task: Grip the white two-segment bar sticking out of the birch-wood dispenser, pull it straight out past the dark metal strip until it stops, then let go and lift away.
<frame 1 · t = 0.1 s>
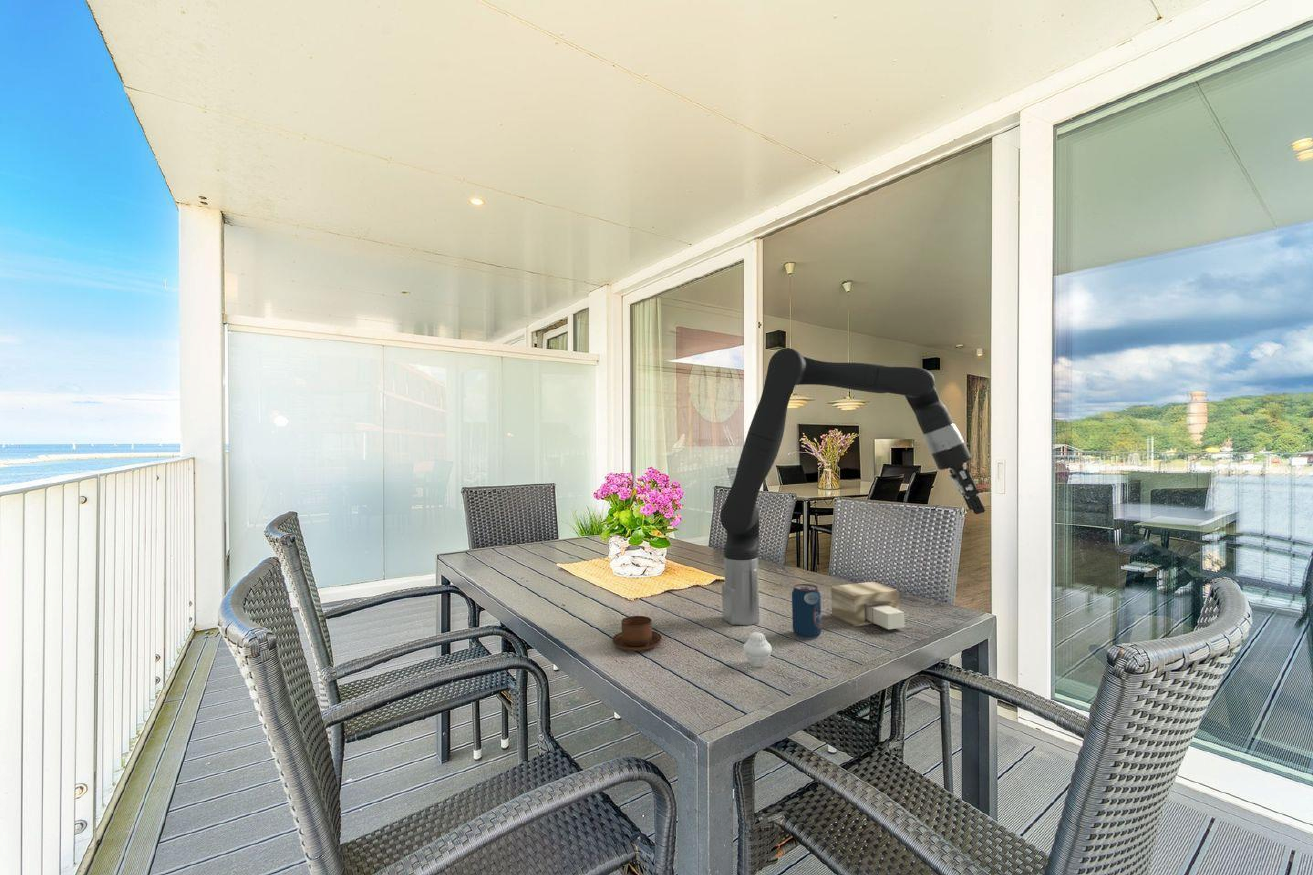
hand: (977, 510, 124), 31 cm above the table, fingers open, 8 cm apart
dispenser: (865, 617, 145), on the table
cup and saucer: (637, 646, 128), on the table
soda can: (807, 635, 133), on the table
white rounded piece: (757, 665, 116), on the table
white two-segment bar: (876, 612, 140), point 3 cm above the table, slide at 0.0 cm
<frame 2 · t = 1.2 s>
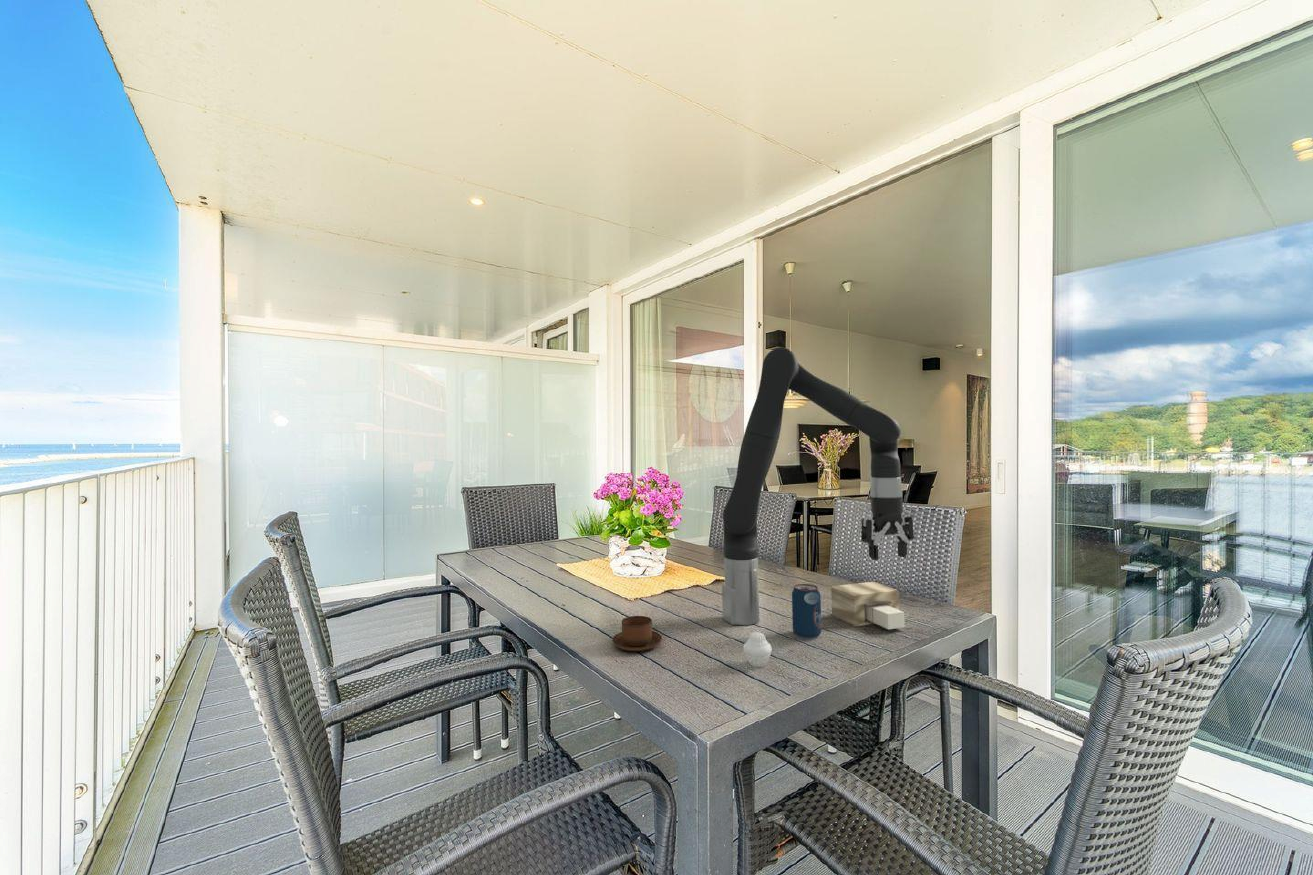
hand: (888, 558, 136), 18 cm above the table, fingers open, 8 cm apart
nothing on the table moved.
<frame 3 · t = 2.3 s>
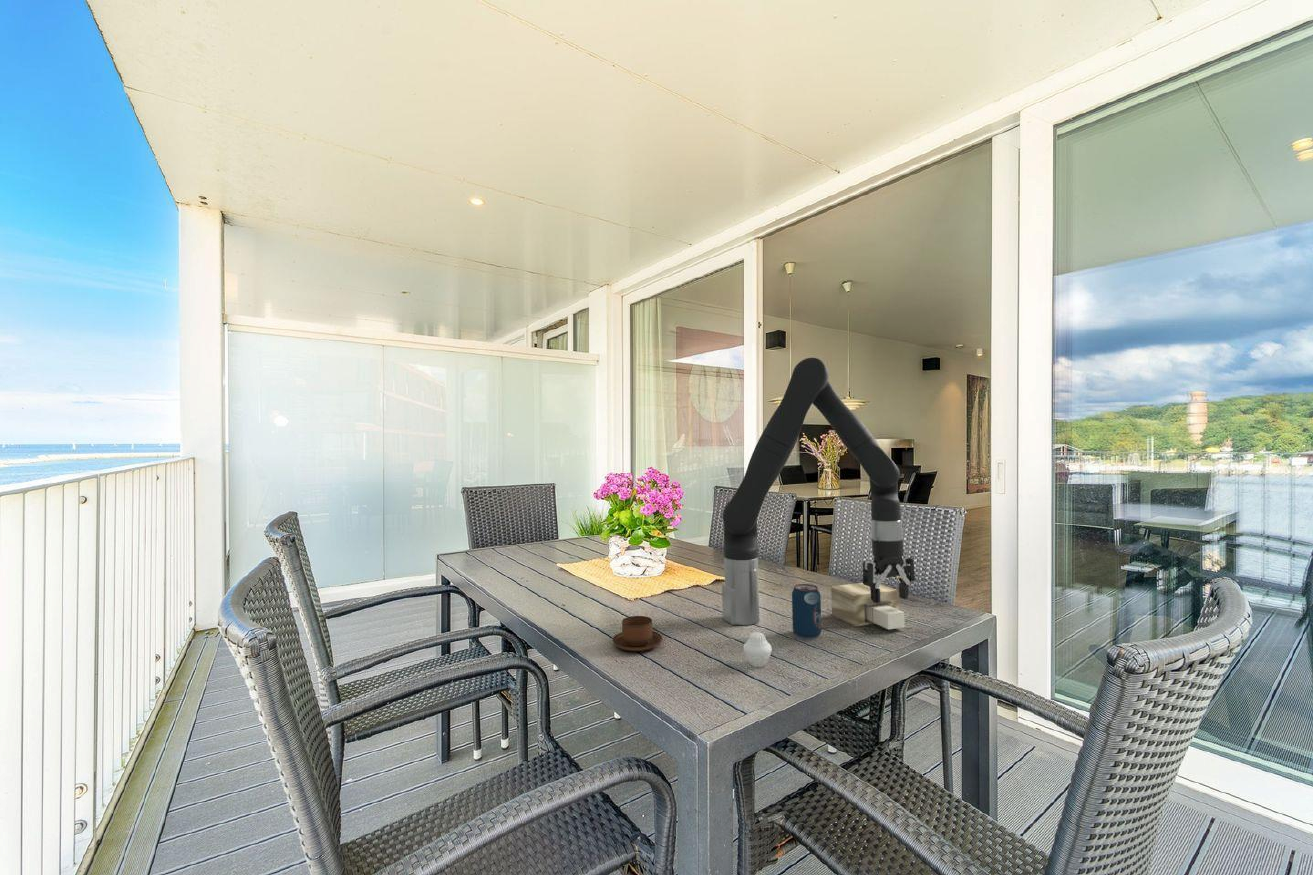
hand: (890, 600, 136), 7 cm above the table, fingers open, 8 cm apart
nothing on the table moved.
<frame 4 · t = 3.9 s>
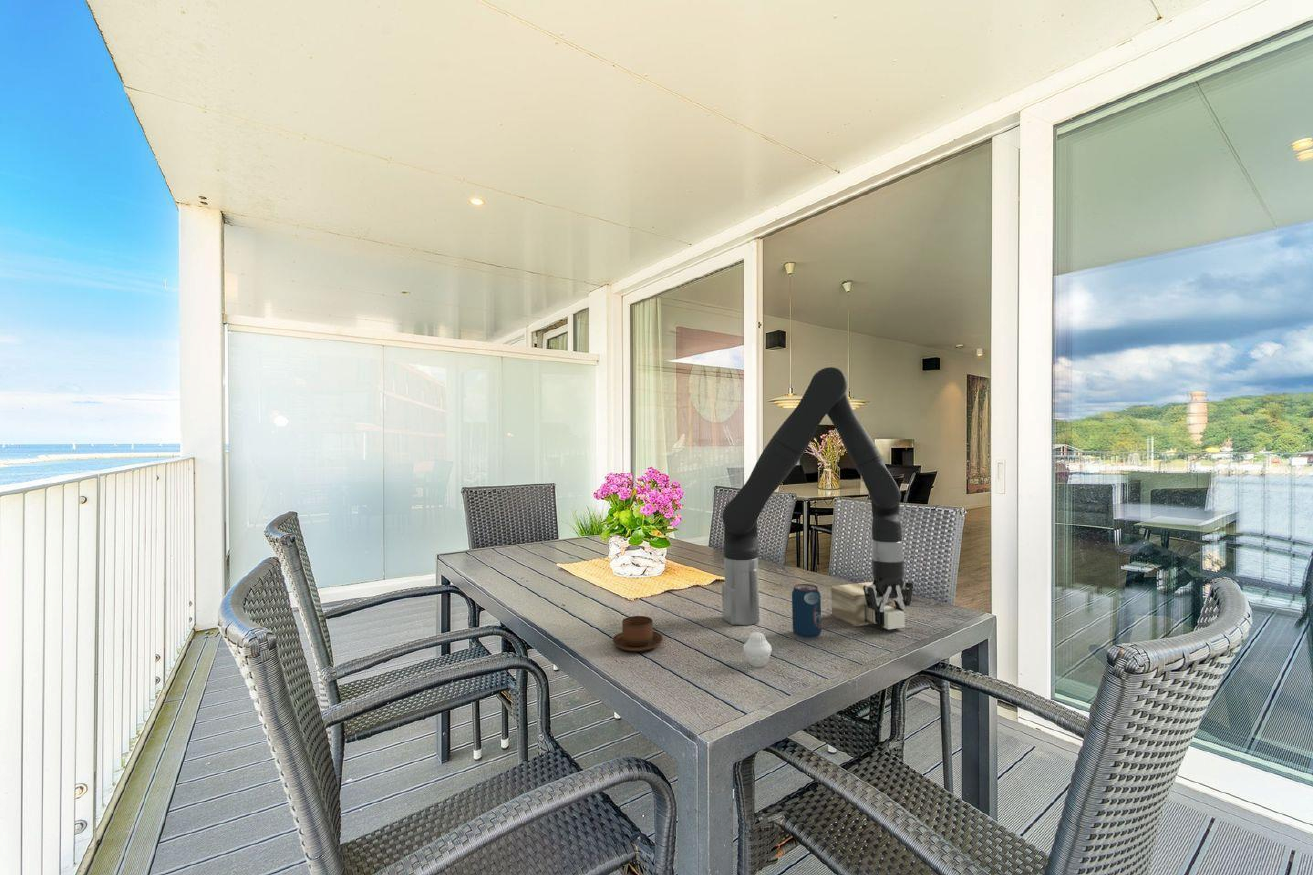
hand: (889, 623, 136), 1 cm above the table, fingers closed on white two-segment bar, 5 cm apart
white two-segment bar: (876, 612, 140), point 3 cm above the table, slide at 0.0 cm, touching gripper
everything else where it was.
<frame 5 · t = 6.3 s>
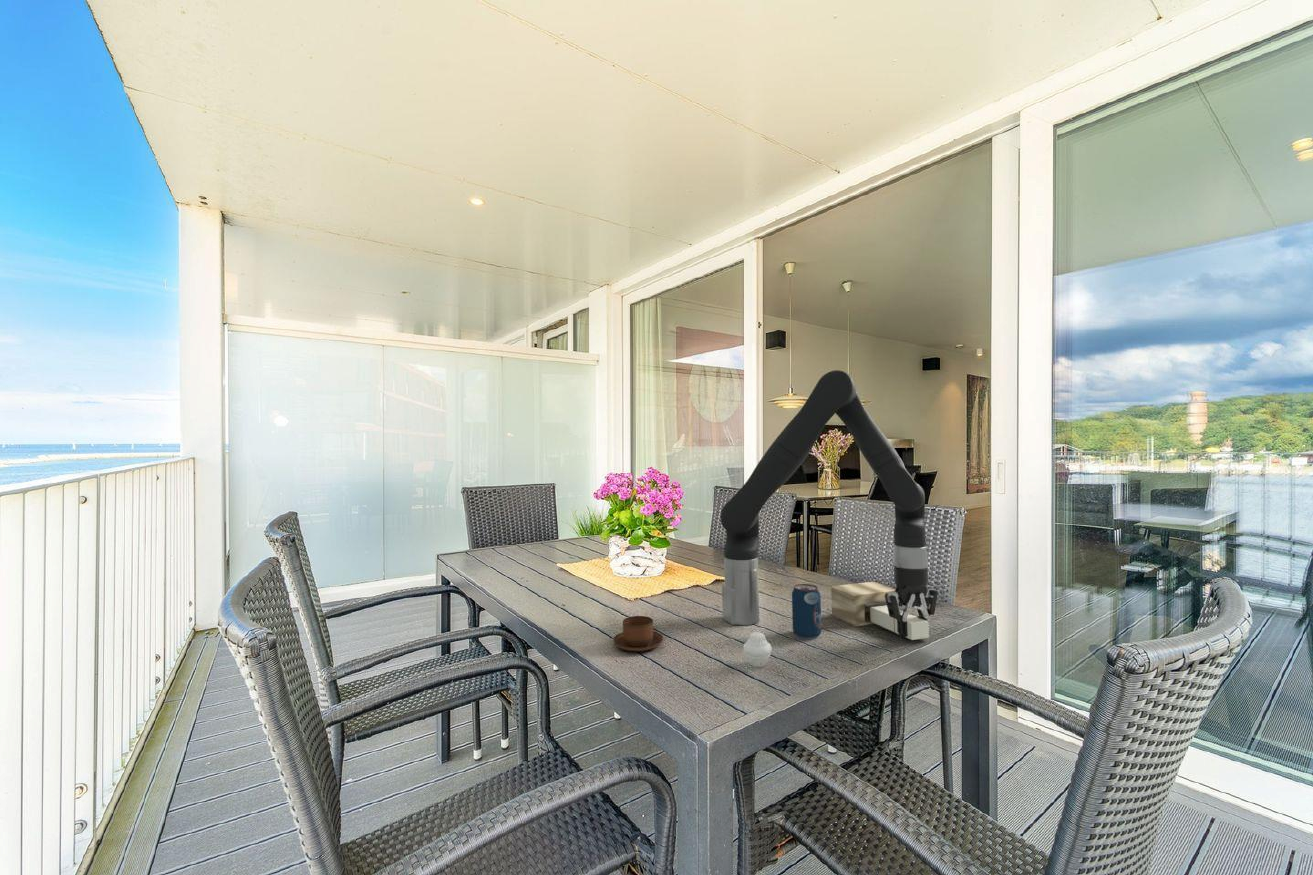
hand: (912, 634, 128), 1 cm above the table, fingers closed on white two-segment bar, 5 cm apart
white two-segment bar: (898, 621, 133), point 3 cm above the table, slide at 7.9 cm, touching gripper
everything else where it was.
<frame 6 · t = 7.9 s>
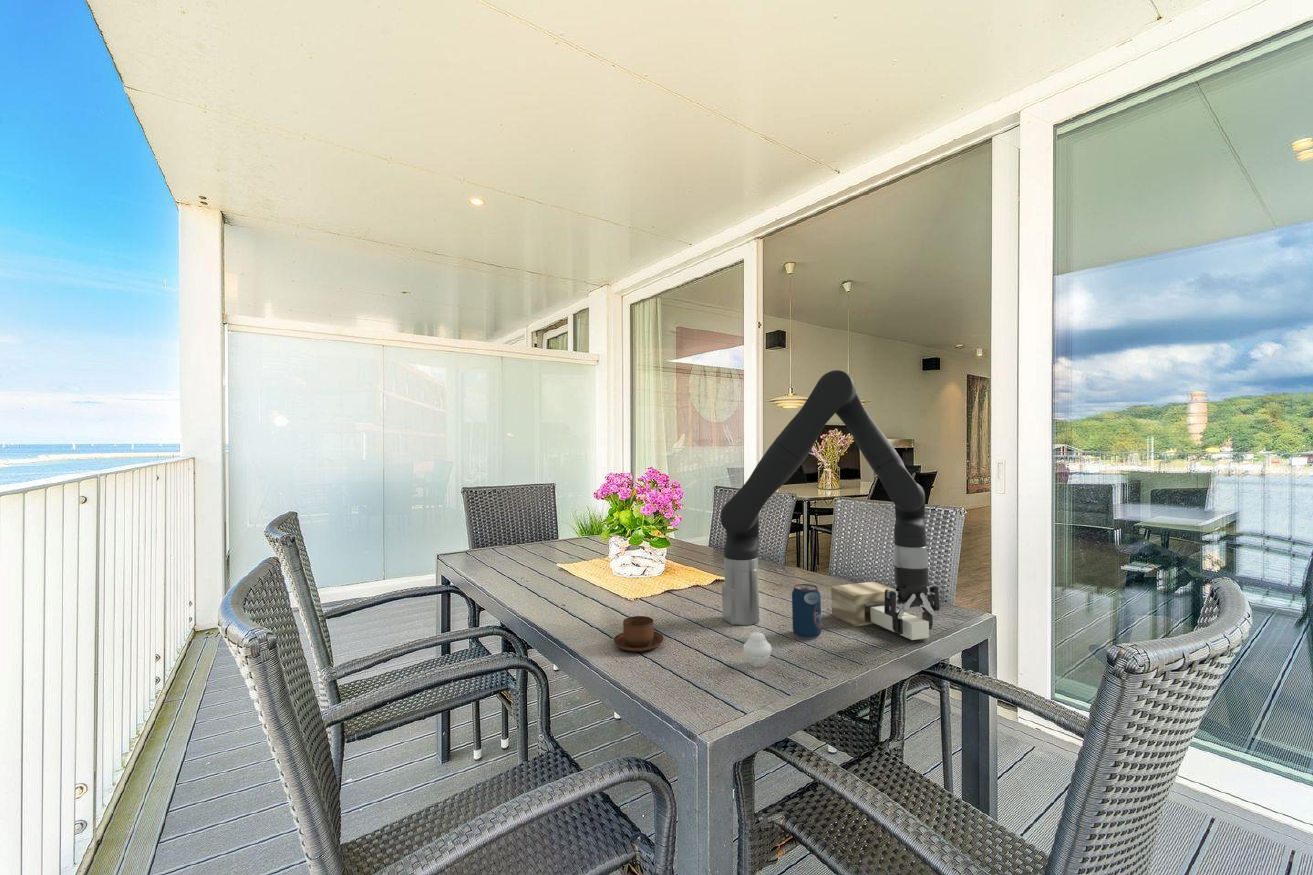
hand: (912, 631, 128), 2 cm above the table, fingers open, 8 cm apart
white two-segment bar: (898, 621, 133), point 3 cm above the table, slide at 7.9 cm
everything else where it was.
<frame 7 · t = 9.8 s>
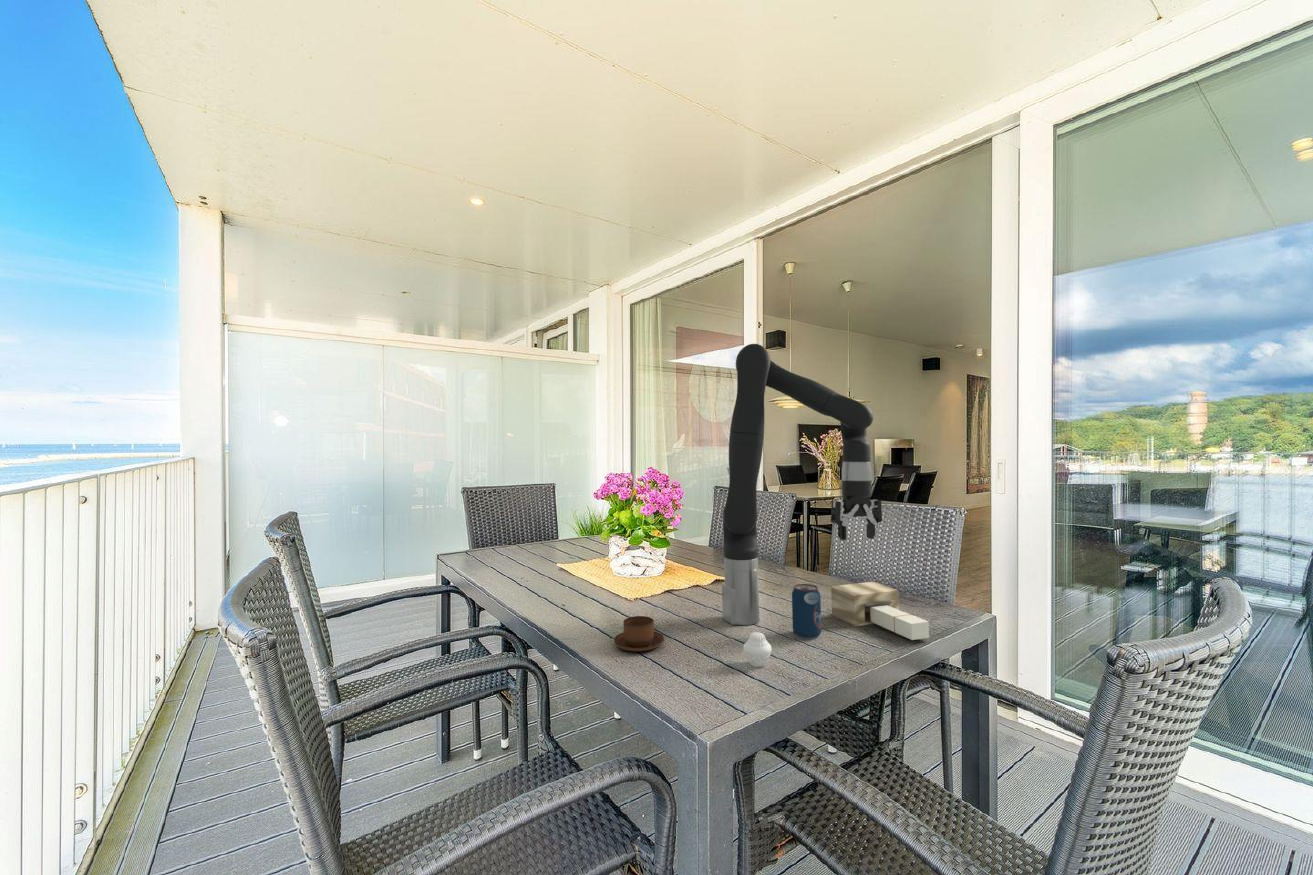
hand: (856, 539, 142), 22 cm above the table, fingers open, 8 cm apart
nothing on the table moved.
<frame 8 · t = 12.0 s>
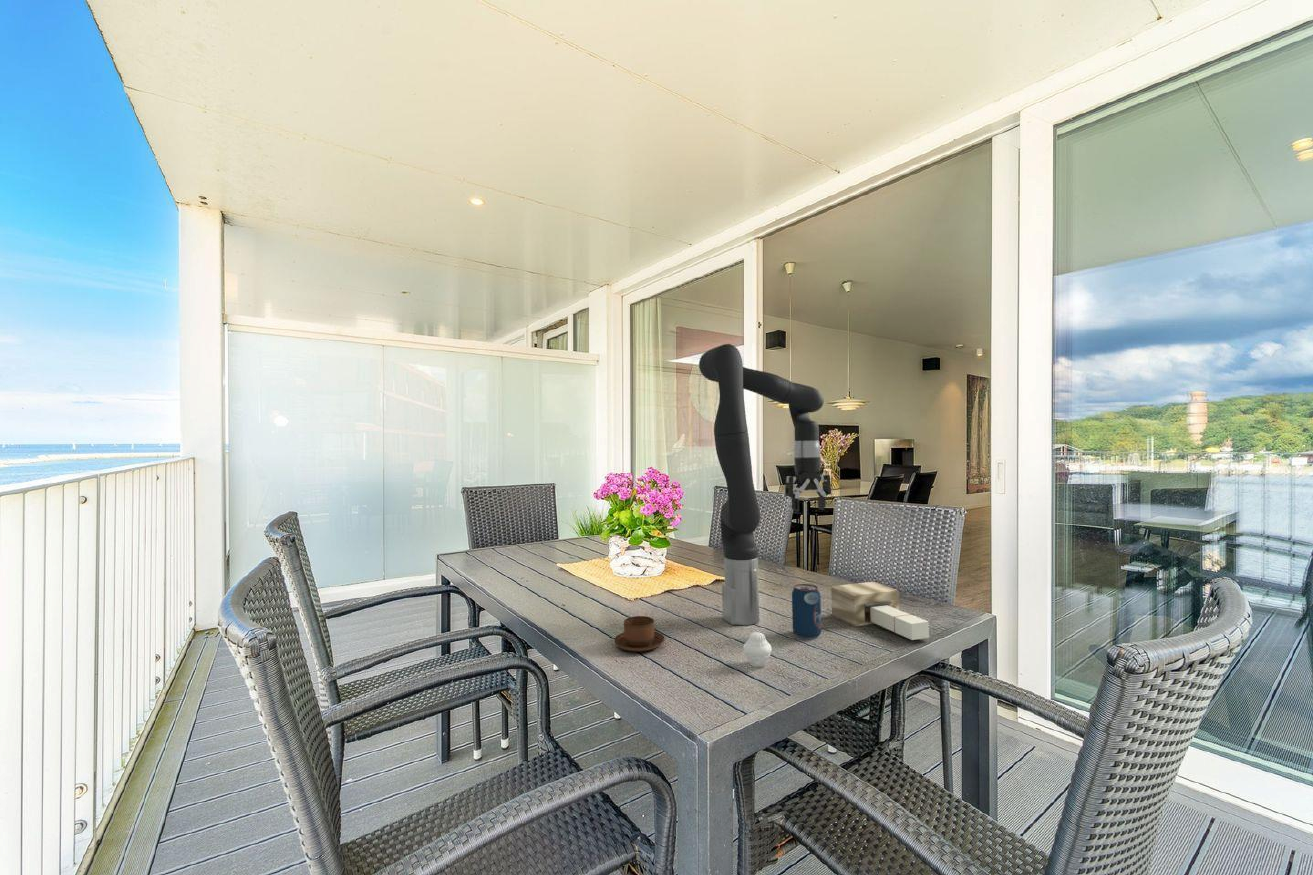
hand: (808, 510, 158), 28 cm above the table, fingers open, 8 cm apart
nothing on the table moved.
at the end: white two-segment bar slide at 7.9 cm; the gripper is holding nothing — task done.
